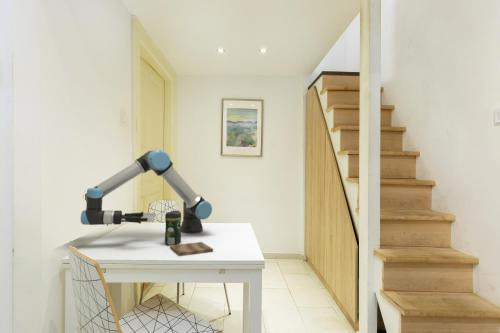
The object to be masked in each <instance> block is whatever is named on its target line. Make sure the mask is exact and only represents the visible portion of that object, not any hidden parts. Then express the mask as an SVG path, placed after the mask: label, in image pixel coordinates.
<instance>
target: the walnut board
mask: <svg viewBox="0 0 500 333" xmlns="http://www.w3.org/2000/svg"><path fill="white" fill-rule="evenodd" d="M169 249H171V250H172V251H173V252H174V253H175V254H176V255H177V256H178V257H182V256H191V255H199V254H205V253H212V252H214V248H213V247H211V246H210V245H207V244H206V243H204V242H203V241H198V242H197V241H196V242H189V243H179V244H177V245H169Z"/></svg>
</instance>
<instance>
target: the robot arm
mask: <svg viewBox="0 0 500 333" xmlns="http://www.w3.org/2000/svg"><path fill="white" fill-rule="evenodd" d="M148 171H149V172H150V171H153V173H155V174H156V176H157V177H162V178H163V180H165V182H166V183H167V184H168V185H169V187H170V188H172V189H173V191H174V192H175V193H176V194H177V195H178V197H180V199H181V200H183V201H182V205H183V206H182V208H183V210H182V220H181V233H185V234H196V233H202V232H203V230H204V229H203V228H204V226H203V224H202V221H201V220H207V219H208V218H210V217H211V214H212V212H213V207H212V204H211V203H210V202H209V201H207V200H205V199H204V197H202V195H201V194H197V193H196V192H195V191H194V189H193V188H192V186H190V185H189V184H188V183H187V181H186V180H185V179H184V178H183V177H182V176H181V175H180V174H179V173H178V171H177V170H176V169H175V168H174V163H173V161H172V160H171V157H170V155H169V154H168V152H166V151H164V150H162V149H155V150H148V151H147V152H145V153H144V154H142V155H141V156H140V157H138V158H137V159H135V160H134V162H133V163H131V164H130V165H129V166H126V167H125V168H123V169H122V170H120V171H118V172H117V173H115V174H113V175H112V176H110V177H109V178H107V179H105V180H104V181H102V182H100V183H99V184H96V185H95V186H94V187H90V188H87V190H86V191H87V193H86V194H85V200H86V201H85V200H84V201H85V202H86V204H85V205H86V207H85V208H86V209H85V210H82V211H81V213H80V223H81V224H82V225H87V226H88V225H90V226H98V225H101V226H102V225H105V226H107V227H108V226H109V225H122V223H134V224H142V223H154V222H155V218H156V213H155V212H144V211H140V212H130V213H129V212H128V213H124V214H123V211H122V210H106V209H105V210H103V198H104V197H106V196H107V195H109V194H110V193H112V192H113V191H114V192H115V190H118V188H120V187H122V186H123V185H125V184H126V183H128V182H129V181H131V180H133V179H134V178H136V177H137V176H140V174H145V173H147V172H148ZM201 231H202V232H201Z"/></svg>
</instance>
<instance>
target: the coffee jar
mask: <svg viewBox="0 0 500 333" xmlns="http://www.w3.org/2000/svg"><path fill="white" fill-rule="evenodd" d="M164 217H165V218H164V219H165V229H164V230H165V235H164V244H165V245H167V246H170V245H178V244H181V242H182V235H181V234H182V232H181V224H182V213H181V211H180V210H171V211H170V212H166V213H165V216H164Z"/></svg>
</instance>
